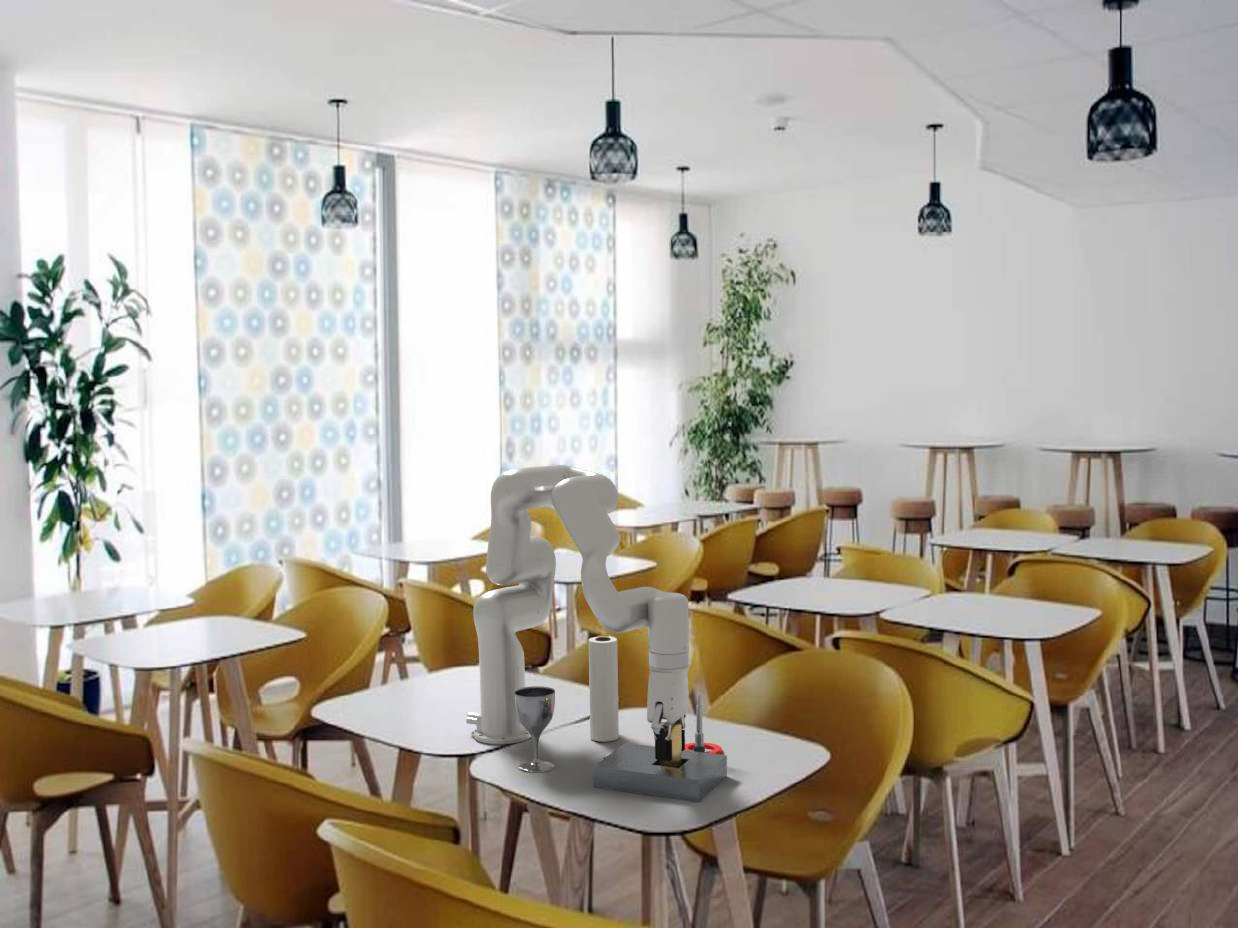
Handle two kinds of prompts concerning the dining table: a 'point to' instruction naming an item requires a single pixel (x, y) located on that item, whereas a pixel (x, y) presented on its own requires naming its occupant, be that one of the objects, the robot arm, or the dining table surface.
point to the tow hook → (701, 734)
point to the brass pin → (674, 746)
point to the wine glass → (535, 719)
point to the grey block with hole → (660, 773)
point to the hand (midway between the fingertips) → (670, 753)
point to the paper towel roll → (603, 688)
